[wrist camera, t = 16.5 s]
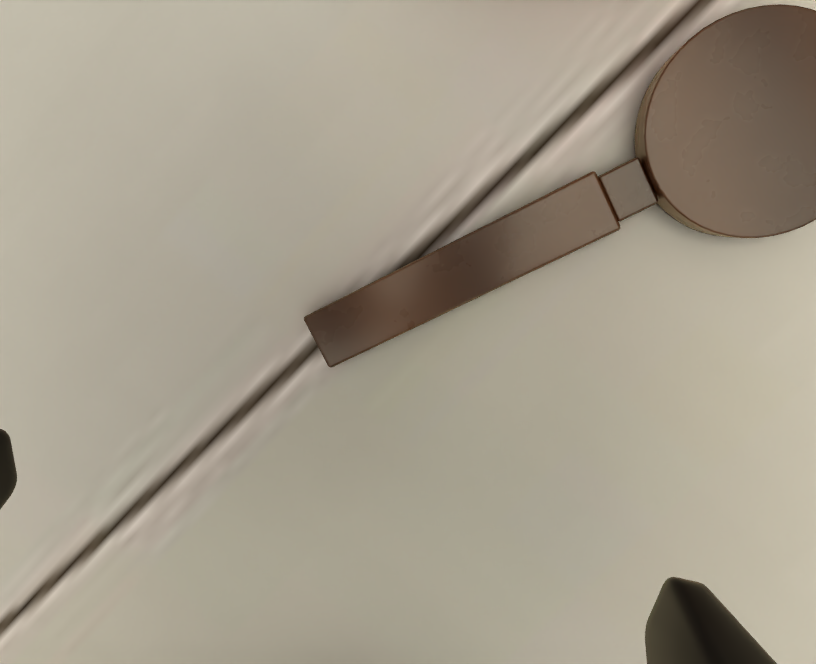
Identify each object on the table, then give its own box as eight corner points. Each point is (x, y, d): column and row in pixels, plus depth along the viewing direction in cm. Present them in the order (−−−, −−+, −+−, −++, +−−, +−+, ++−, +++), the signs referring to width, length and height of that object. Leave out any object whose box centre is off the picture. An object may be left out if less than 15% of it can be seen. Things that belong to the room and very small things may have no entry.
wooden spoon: (364, 415, 20) (355, 428, 19) (281, 258, 19) (267, 260, 18) (890, 177, 16) (920, 173, 15) (809, -23, 16) (834, -44, 15)
